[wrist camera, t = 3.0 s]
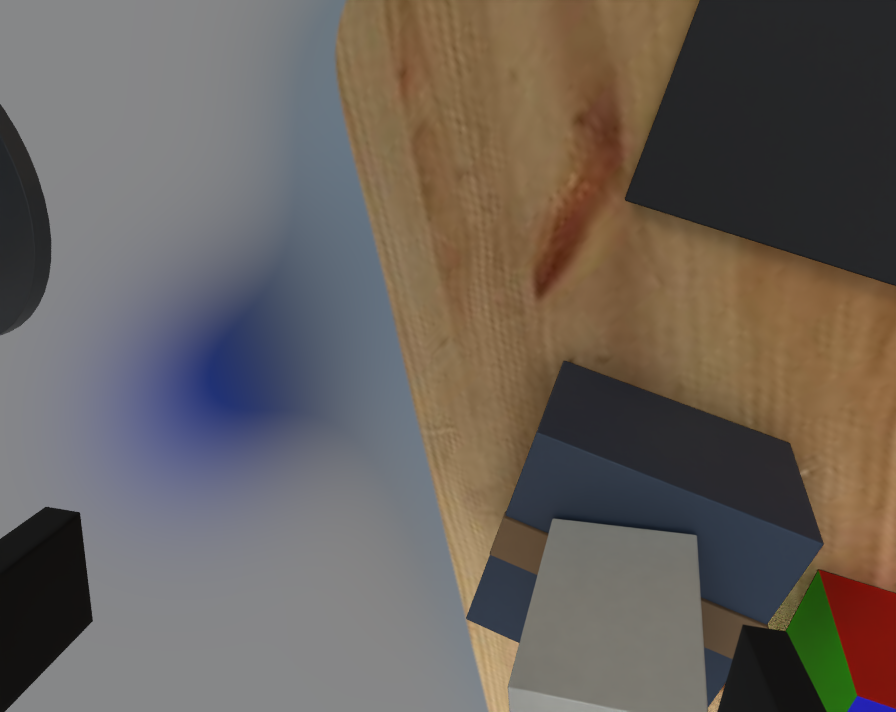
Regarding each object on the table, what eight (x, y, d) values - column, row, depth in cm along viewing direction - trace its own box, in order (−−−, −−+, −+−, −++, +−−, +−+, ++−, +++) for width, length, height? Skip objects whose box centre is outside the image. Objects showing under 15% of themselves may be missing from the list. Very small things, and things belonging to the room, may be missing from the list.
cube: (986, 621, 32) (1074, 770, 25) (914, 720, 36) (974, 876, 29) (818, 569, 34) (857, 695, 27) (765, 669, 37) (787, 804, 30)
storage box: (500, 523, 39) (463, 621, 32) (562, 359, 34) (534, 433, 27) (692, 604, 37) (698, 728, 30) (791, 443, 32) (827, 548, 25)
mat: (625, 197, 30) (623, 200, 29) (739, -106, 24) (742, -113, 23) (987, 310, 27) (997, 318, 26) (1208, -2, 22) (1231, -5, 21)
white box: (556, 637, 31) (517, 828, 23) (552, 517, 28) (507, 687, 20) (688, 660, 29) (695, 877, 21) (696, 534, 26) (709, 729, 18)
